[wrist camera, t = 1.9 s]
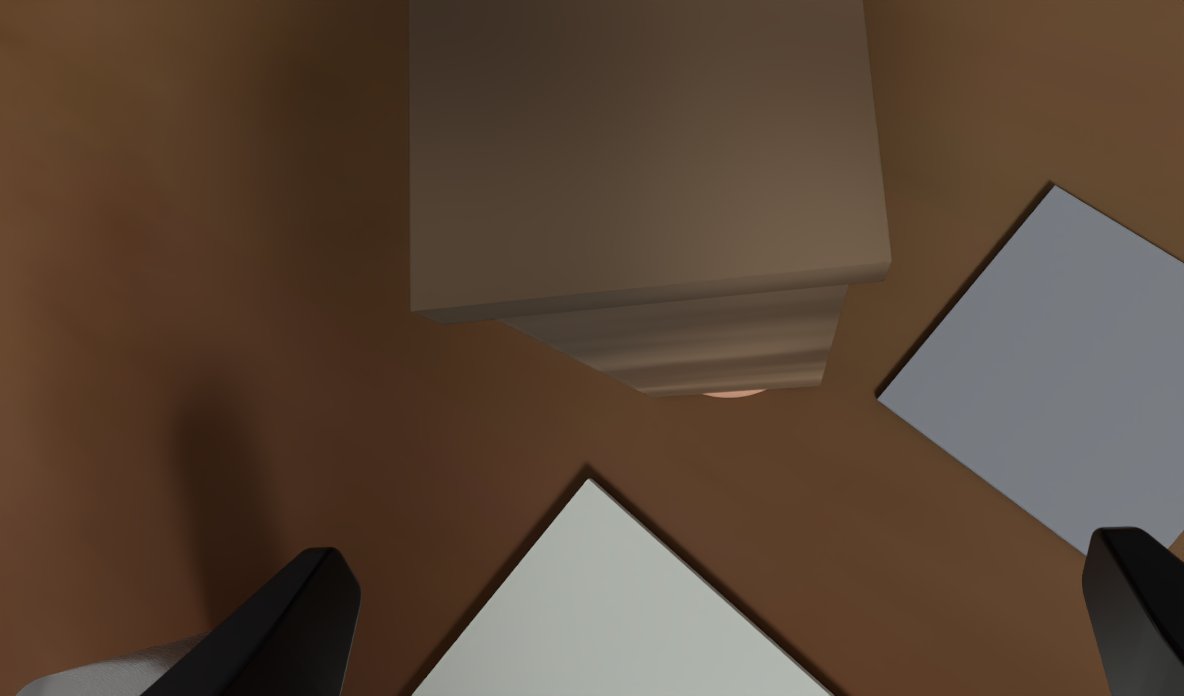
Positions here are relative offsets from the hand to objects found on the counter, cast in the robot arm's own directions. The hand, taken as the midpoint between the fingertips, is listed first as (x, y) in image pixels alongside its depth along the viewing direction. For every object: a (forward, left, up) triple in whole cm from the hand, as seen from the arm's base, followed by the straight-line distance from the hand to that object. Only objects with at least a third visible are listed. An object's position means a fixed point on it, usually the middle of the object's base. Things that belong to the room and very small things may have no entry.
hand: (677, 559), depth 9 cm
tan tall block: (+4, +4, -12) cm, 13 cm away
